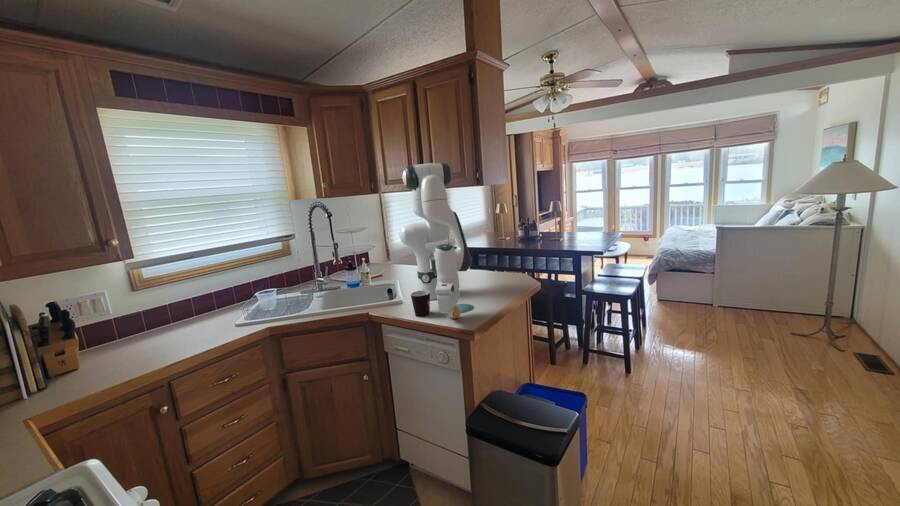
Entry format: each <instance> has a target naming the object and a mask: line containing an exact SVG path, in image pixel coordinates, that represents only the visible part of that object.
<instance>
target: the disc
mask: <svg viewBox="0 0 900 506" xmlns="http://www.w3.org/2000/svg"><path fill="white" fill-rule="evenodd" d="M455 306H457V307H458V308H459V309H460V314H462V312H463V313H467V311H468V312H470V311H473V309H474V305H473V304H469V303H458V304H457V303H456V304H455Z"/></svg>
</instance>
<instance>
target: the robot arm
mask: <svg viewBox="0 0 900 506" xmlns="http://www.w3.org/2000/svg"><path fill="white" fill-rule="evenodd" d="M401 177H402V182H403V184H404V186H405V187H406V189H408V190H412V192H411V193H412V211H413V214H414V215H416V216H417V217H420V218H421V219H424V220H425V221H421V222H413V223H409V224H406V225H402V227H401V228H400V230H399V236H398V237H399V239H400V242H401V243H402V244H403V245H405V246H406V247H408V248H410V250H411V251H412V253H413V254H414V255H415V256H414V257H415V259H416V265H417V280H416V281H415V292H416V291H422V290H425V291H429V292H430V301H434V300H437V305H438V310H439V313H440V314H447V315H449V316H448V318H450V319H452V318H453V316H454V309H455V305H456V304H457V303H458V302H459V301H460V299H461V295H460V279H459V273H458V272H467V271H468V270H469V269H470V268H471V267H472V266H473V258H472V255H471V253H470V249H469V247H468V245H467V241H466V237H465V234H464V230H463V228H462V224H461V221H460V219H459V216H458V214H457V213H456V211H453V210H452V209H451V207H450V205H449V201H448V195H447V194H448V193H447V189H446V186H449V184H450V183H451V182H452V177H453V175H452V170H451V167H450V166H449V164H448V163H445V162H439V163H438V162H437V163H436V162H427V163H421V164H420V163H419V164H415V165H412V164H411V165H407V166H405V167H404V168H403V170H402V175H401ZM450 230H451V231H450ZM451 232H452V235H453V239H454V242H455V245H456V248H455V246H454V245H452V244H451V243H450V244H448V243H443V244H438V245H437V246H436V247H435V248H434V249H435V251H434V250H432V249H429V248H427V247H426V245H427V244H434V243H439V242H443V241H445V240H447V239H448V238H449V236H450V233H451Z"/></svg>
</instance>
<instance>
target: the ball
mask: <svg viewBox="0 0 900 506" xmlns="http://www.w3.org/2000/svg"><path fill="white" fill-rule="evenodd" d="M447 315H448V314H447ZM460 315H461V313H460V309H459V308H458V307H457V306H455V309H454V316H453V318H451V319H452V320H455V319H459V317H460ZM448 317H449V315H448Z"/></svg>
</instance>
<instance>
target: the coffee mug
mask: <svg viewBox="0 0 900 506" xmlns="http://www.w3.org/2000/svg"><path fill="white" fill-rule="evenodd" d="M410 298H411V302H412V308H413V312H414V315H415V317H417V318H425V317H429V315H430V311H431V310H430V308H431V306H430V304H431V303H430V302H431V300H430V292H429V291H425V290H422V291H416V290H415V291H413V292H411V293H410Z"/></svg>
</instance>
